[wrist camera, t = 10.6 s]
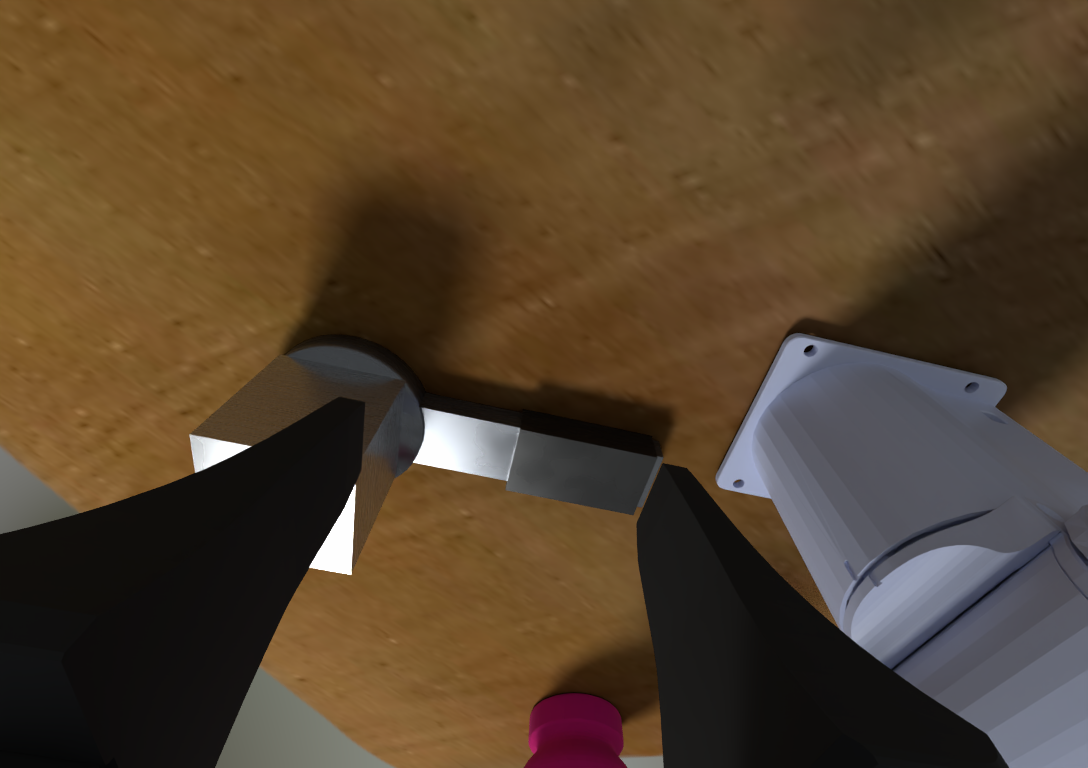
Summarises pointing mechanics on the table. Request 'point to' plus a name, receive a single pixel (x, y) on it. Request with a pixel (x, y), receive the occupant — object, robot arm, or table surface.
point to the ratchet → (504, 437)
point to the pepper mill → (575, 733)
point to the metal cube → (288, 398)
